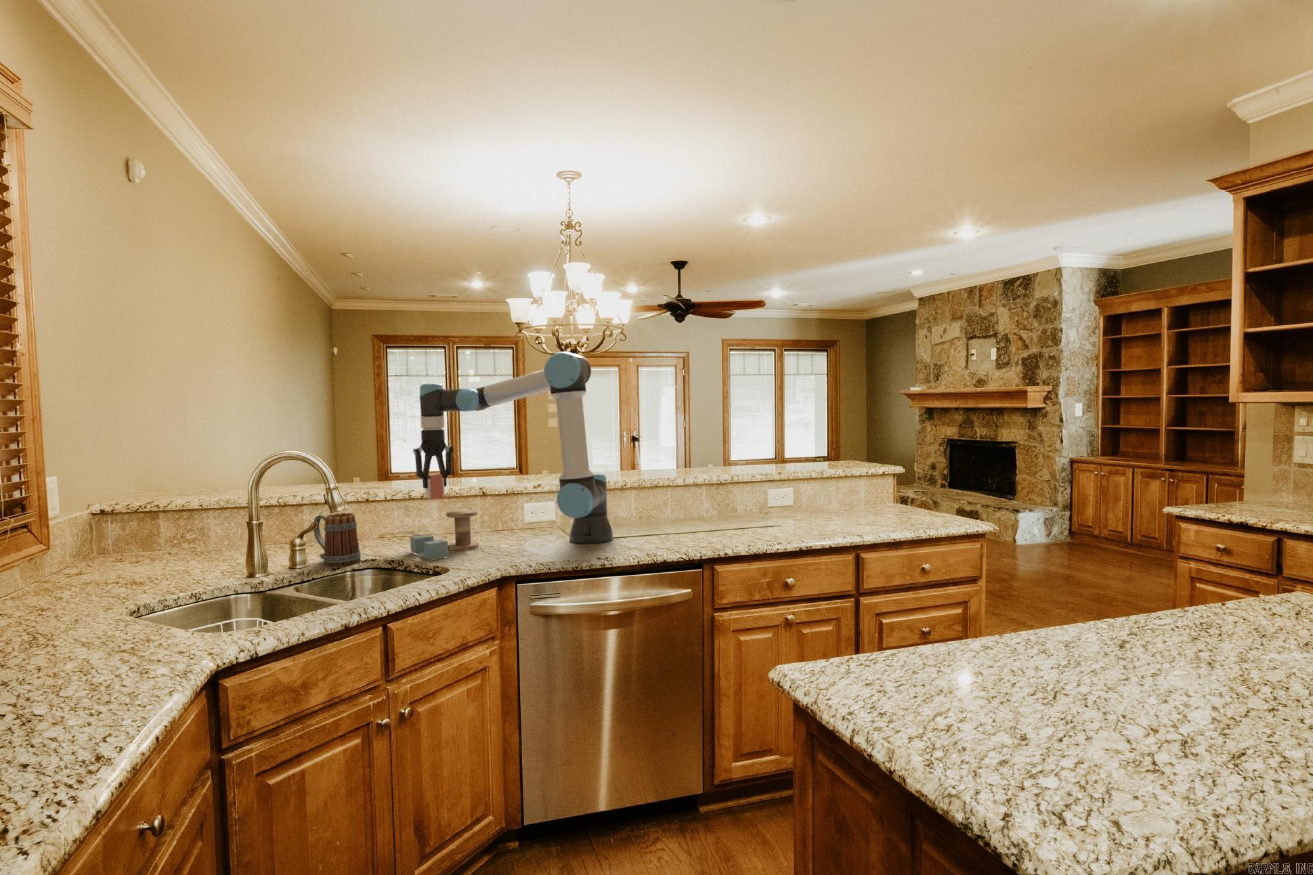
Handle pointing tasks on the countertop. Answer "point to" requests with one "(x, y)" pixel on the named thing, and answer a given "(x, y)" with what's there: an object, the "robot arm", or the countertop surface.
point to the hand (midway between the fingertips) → (435, 496)
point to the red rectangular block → (436, 485)
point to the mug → (338, 539)
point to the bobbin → (462, 530)
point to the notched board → (429, 547)
